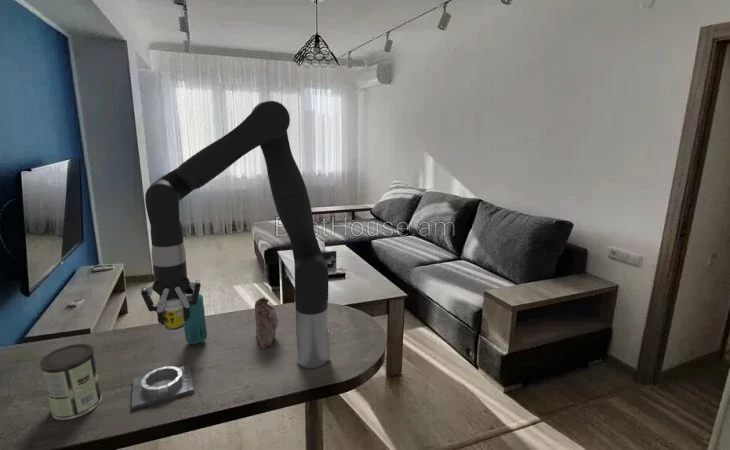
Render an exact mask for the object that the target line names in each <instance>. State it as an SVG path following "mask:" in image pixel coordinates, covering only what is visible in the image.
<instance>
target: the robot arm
mask: <svg viewBox="0 0 730 450" xmlns="http://www.w3.org/2000/svg"><path fill="white" fill-rule="evenodd" d="M290 123H291V117H290V113H289V111H288V109H287V107H285V105H284V104H282V103H281V102H278V101H277V100H271V99H269V100H264V101H260V103H259V102H258V104H256V105H255V107H254V108H253V109H252V111H251V113H249V114H248V116H246V117H245V119H243V120H242V121H241V122H240V123H239V124H238V125H237V126H236V127H235V128H234V129H233V128H232V130H230V131H229V132H228V133H226V134H225V135H223V136H222V137H220V138H219V139H217V140H215V141H213V142H212V143H210V144H208V145H207V146H206V147H204V148H202V149H201V150H199V151H197V152H196V153H195V154H193V155H192V156H190V157H189V158H187V159H186V160H185V161H184V162H182V163H181V164H180V165H178V167H176V168H175V169H173V170H172V171H171V170H170V172H168V173H166V174H165V175H163V176H161V177H160V178H158V179H157V180H155V181H154V182H152V183H151V184H150V186H148V188H147V189H146V191H145V196H144V199H145V201H144V202H145V209H146V212H147V218H148V221H149V224H150V225H149V226H150V227H149V228H150V240H151V241H150V242H151V253H150V254H151V262H152V272H153V284H152V285H151V286H148V287H146V286H144V287H141V289H140V291H141V293H140V294H141V296H142V299H143V301H144V303H145V306H146V308H147V310H148V312H156V314H157V323H158V324H160V325H161V326H165V322H164V311H163V307H164V305H165V301H166V300H168V299H171V298H180V300H181V302H182V303H183V305H184V319H185V321H188V318H190V306H191V305H195V304H197V300H198V295H199V294H200V291H201V290H200V289H201V286H202V285H201V281H200V280H199V279H196V280H195V281H194V280H190V279H189V278H188V271H187V258H186V256H187V255H186V254H187V253H186V247H185V244H184V233H183V232H184V230H183V225H182V222H181V220H180V219H181V218H180V201H182V199H184V198H185V197H187V196H188V195H189V194H190V193H192V192H193V191H195V190H197V189H198V190H199V189H201V188H202V187H204V186H205V185H206V184H208V183H209V182H211V181H212V180H214V179H215V178H216V177H218V176H220V174H222V173H223V172H225V170H227V169H228V168H230V167H231V166H232V165H233V164H234V163H236V162H238V160H240V159H241V158H242V157H244V156H245V155H247V154H248V153H250V152H251V151H253V150H255V149H256V148H258V147H260V150H261V151H262V154H263V157H264V162H265V164H266V165H265V166H266V172H267V178H268V183H269V187H270V192H271V196H272V199H273V203H274V206H275V210H276V212H277V215H278V217H279V221H280V222H281V224H282V226H283V228H284V231H285V232H286V234H287V236H288V238H289V239H288V240H289V242H290V245H291V250H292V256H293V261H294V298H295V299H294V301H295V303H294V304H295V331H296V333H295V334H296V335H295V336H296V362H297V364H298V365H299V366H301V367H303V368H306V369H315V368H320V367H322V366H323V365H325V364H326V363H327V362H329V361H331V331H330V330H329V327H328V326H329V324H328V323H329V321H328V320H329V319H328V318H329V317H328V308H329V307H328V302H329V270H328V269H329V268H328V265H327V262H326V259H325V257H324V255H323V253H322V250H321V248H320V245H319V242H318V240H317V236H316V233H315V226H314V217H313V211H312V205H311V201H310V198H309V197H310V196H309V193H308V189H307V186H306V182H305V180H304V178H303V176H302V173H301V172H300V169H299V166H298V165H297V163H296V160H295V158H294V156H293V153H292V150H291V146H290V141H289V136H288V129H289V127H290ZM189 285H190V286H191V289H192V290H193V293H192V298H191V299H189V300H188V299H187V297H186V294H185V291H186V289H187V288H188V286H189ZM153 291H154V292H155V293H156V294H157V295H158V296H159V297H158V301H157V304H156V303H154V301H153V299H152V297H151V296H152V294H153Z"/></svg>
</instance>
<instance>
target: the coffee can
mask: <svg viewBox="0 0 730 450" xmlns="http://www.w3.org/2000/svg"><path fill="white" fill-rule="evenodd" d="M94 351H95V350H94V346H92V345H91V344H86V343H76V344H70V345H66V346H62V347H60V348H58V349H55V350H53V351H51V352H49V353H48V354H46V355H44V357H42V358H41V360H39V367H40V369H41V374H42V378H43V381H44V385H45V390H46V394H47V398H48V403H49V407H50V411H51V416H52V418H53V419H55V420H58V421H59V420H60V421H66V420H72V419H73V420H74V419H76V418H78V417H81V416H84V415H86V414H88V413H90V412H91V411H93V410H94V409H96V407H98V405H100V403H101V402H102V399H103V394H102V391H101V387H100V386H101V385H100V382H99V376H98V371H97V364H96V359H95V354H94Z"/></svg>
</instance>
